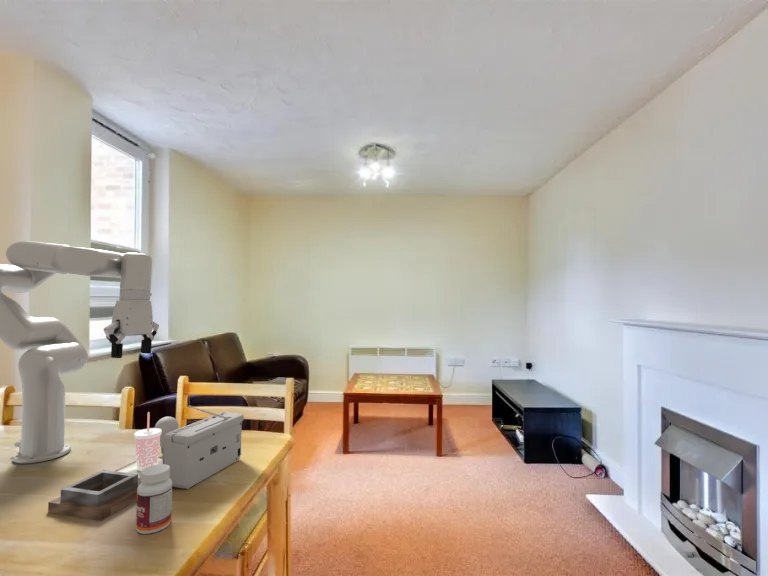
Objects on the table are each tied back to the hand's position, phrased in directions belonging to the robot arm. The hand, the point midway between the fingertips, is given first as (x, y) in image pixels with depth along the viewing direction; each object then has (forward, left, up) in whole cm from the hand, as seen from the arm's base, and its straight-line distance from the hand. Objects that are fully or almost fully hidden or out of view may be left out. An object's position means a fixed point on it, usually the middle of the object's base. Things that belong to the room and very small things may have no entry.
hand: (131, 355), depth 114 cm
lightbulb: (+9, +4, -29) cm, 31 cm away
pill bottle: (+34, -27, -29) cm, 52 cm away
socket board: (+15, -15, -29) cm, 36 cm away
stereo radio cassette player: (+27, -3, -30) cm, 40 cm away
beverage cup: (+14, -9, -27) cm, 32 cm away
